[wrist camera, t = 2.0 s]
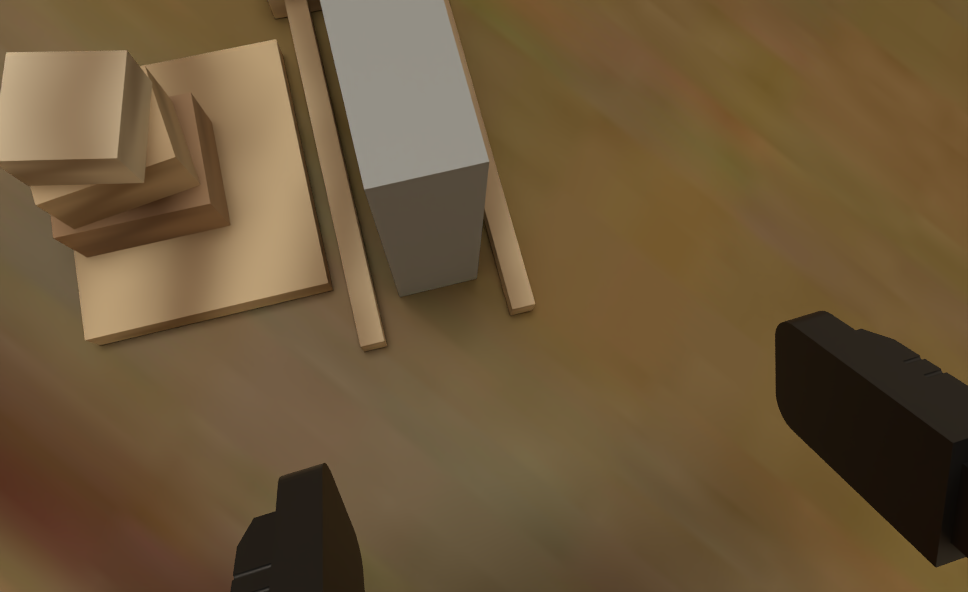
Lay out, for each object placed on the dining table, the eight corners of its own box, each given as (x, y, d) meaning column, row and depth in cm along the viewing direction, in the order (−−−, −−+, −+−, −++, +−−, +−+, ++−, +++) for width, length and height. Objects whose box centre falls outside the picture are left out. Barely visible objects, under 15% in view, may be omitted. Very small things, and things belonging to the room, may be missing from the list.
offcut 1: (28, 185, 24) (-9, 161, 22) (41, 84, 25) (5, 52, 23) (144, 182, 24) (116, 158, 22) (152, 82, 25) (127, 50, 23)
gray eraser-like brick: (399, 297, 30) (364, 189, 19) (335, 26, 33) (270, -211, 22) (476, 278, 31) (489, 161, 19) (405, 12, 34) (379, -229, 22)
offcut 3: (87, 257, 29) (53, 238, 26) (73, 151, 30) (39, 123, 27) (230, 225, 29) (210, 203, 27) (212, 122, 30) (190, 92, 28)
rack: (108, 414, 28) (53, 405, 25) (58, 24, 33) (4, -36, 29) (548, 306, 30) (562, 282, 26) (445, -50, 35) (443, -116, 31)
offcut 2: (74, 229, 26) (35, 204, 24) (48, 141, 27) (8, 109, 25) (200, 184, 27) (175, 157, 25) (171, 100, 28) (144, 65, 26)
